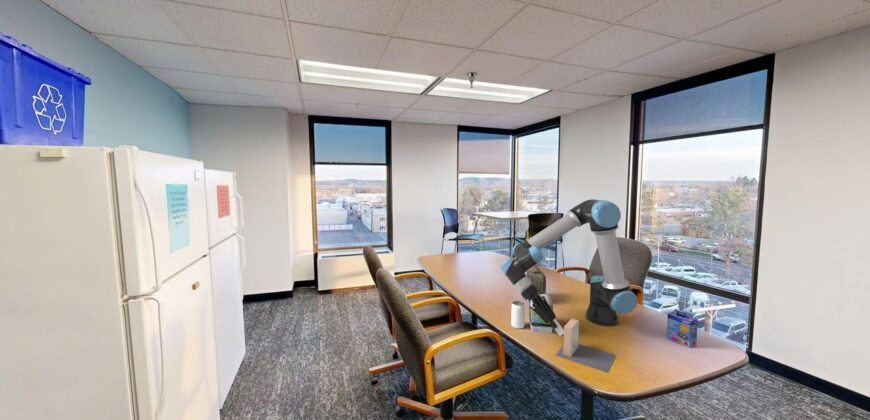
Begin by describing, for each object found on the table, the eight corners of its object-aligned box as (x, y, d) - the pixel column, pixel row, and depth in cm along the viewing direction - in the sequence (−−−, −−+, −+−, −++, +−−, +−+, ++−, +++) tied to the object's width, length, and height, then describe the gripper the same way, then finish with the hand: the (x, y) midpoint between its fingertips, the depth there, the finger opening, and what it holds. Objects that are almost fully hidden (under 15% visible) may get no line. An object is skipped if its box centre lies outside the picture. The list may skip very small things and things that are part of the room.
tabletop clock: (526, 296, 205) (527, 257, 203) (541, 296, 204) (542, 257, 202) (529, 304, 191) (530, 263, 189) (545, 305, 190) (546, 263, 188)
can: (522, 330, 159) (522, 306, 158) (509, 327, 162) (509, 303, 161) (526, 325, 164) (526, 302, 163) (513, 322, 168) (513, 299, 167)
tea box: (553, 334, 154) (553, 304, 153) (531, 332, 156) (531, 303, 155) (548, 321, 169) (549, 293, 168) (528, 319, 171) (529, 292, 170)
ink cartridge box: (665, 338, 149) (667, 308, 148) (672, 335, 152) (673, 306, 151) (690, 348, 141) (692, 316, 139) (696, 345, 143) (698, 313, 142)
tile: (563, 354, 136) (564, 326, 135) (570, 344, 143) (571, 318, 142) (571, 356, 134) (572, 328, 132) (578, 347, 141) (579, 320, 140)
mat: (554, 356, 135) (554, 355, 135) (566, 341, 147) (566, 340, 147) (608, 374, 122) (608, 373, 122) (616, 356, 135) (616, 355, 135)
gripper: (526, 289, 156) (561, 332, 147) (514, 296, 146) (550, 343, 137) (537, 280, 152) (573, 324, 143) (526, 287, 142) (564, 335, 133)
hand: (562, 333), depth 140 cm, fingers closed
